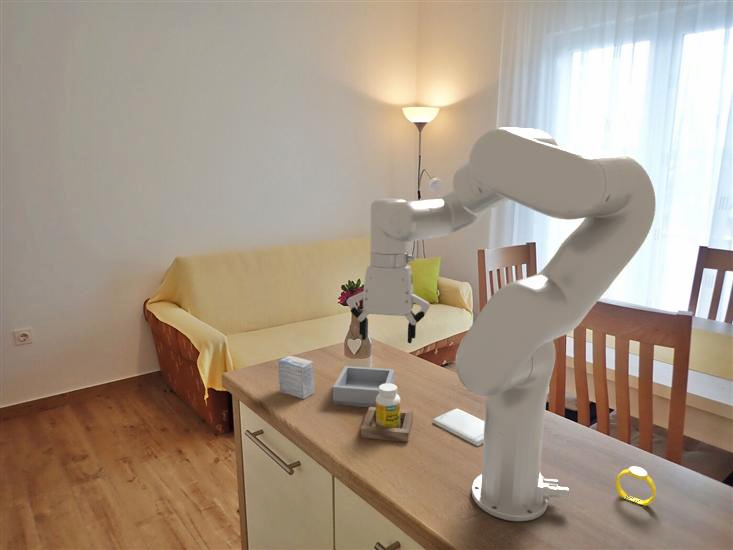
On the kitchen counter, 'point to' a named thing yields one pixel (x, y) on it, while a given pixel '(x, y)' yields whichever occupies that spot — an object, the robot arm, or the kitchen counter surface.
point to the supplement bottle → (388, 406)
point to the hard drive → (462, 425)
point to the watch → (638, 474)
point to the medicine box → (296, 377)
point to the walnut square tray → (387, 432)
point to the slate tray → (360, 385)
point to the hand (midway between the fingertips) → (387, 339)
